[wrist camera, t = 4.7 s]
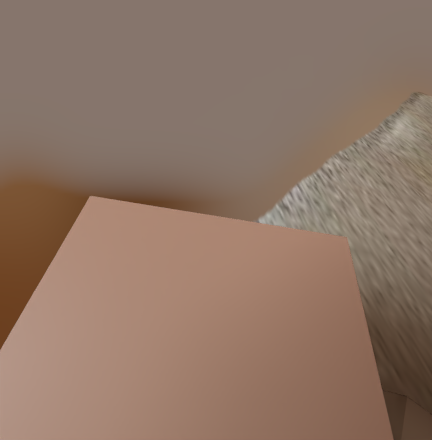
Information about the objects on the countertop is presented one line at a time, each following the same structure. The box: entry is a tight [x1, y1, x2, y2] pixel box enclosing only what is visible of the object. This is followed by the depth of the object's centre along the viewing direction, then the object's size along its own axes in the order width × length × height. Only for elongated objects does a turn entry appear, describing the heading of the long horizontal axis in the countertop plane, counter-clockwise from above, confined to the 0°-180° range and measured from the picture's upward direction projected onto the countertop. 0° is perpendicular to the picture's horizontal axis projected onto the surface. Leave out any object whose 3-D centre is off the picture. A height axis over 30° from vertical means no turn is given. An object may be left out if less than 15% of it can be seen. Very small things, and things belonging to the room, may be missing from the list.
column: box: [0, 196, 394, 440], centre depth 8 cm, size 5×5×13 cm
